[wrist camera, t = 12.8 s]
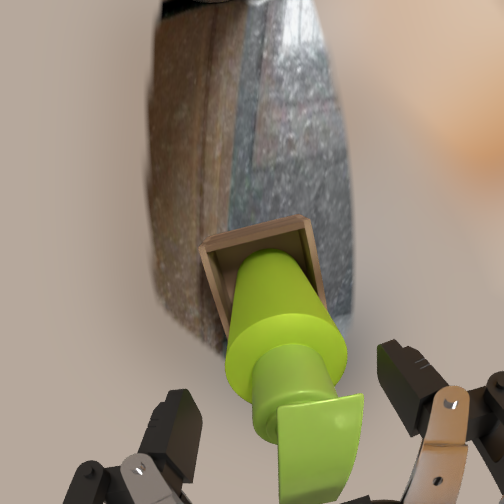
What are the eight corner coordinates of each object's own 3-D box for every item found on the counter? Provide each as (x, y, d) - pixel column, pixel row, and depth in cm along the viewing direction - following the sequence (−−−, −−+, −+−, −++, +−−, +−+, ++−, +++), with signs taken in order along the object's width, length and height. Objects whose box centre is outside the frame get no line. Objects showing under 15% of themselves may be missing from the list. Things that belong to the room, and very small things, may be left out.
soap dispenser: (300, 234, 24) (448, 383, 4) (302, 306, 25) (380, 504, 6) (232, 239, 24) (174, 425, 4) (239, 312, 25) (225, 526, 6)
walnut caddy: (207, 236, 25) (198, 247, 20) (298, 213, 24) (310, 219, 20) (235, 327, 27) (232, 354, 22) (317, 307, 26) (330, 330, 22)
